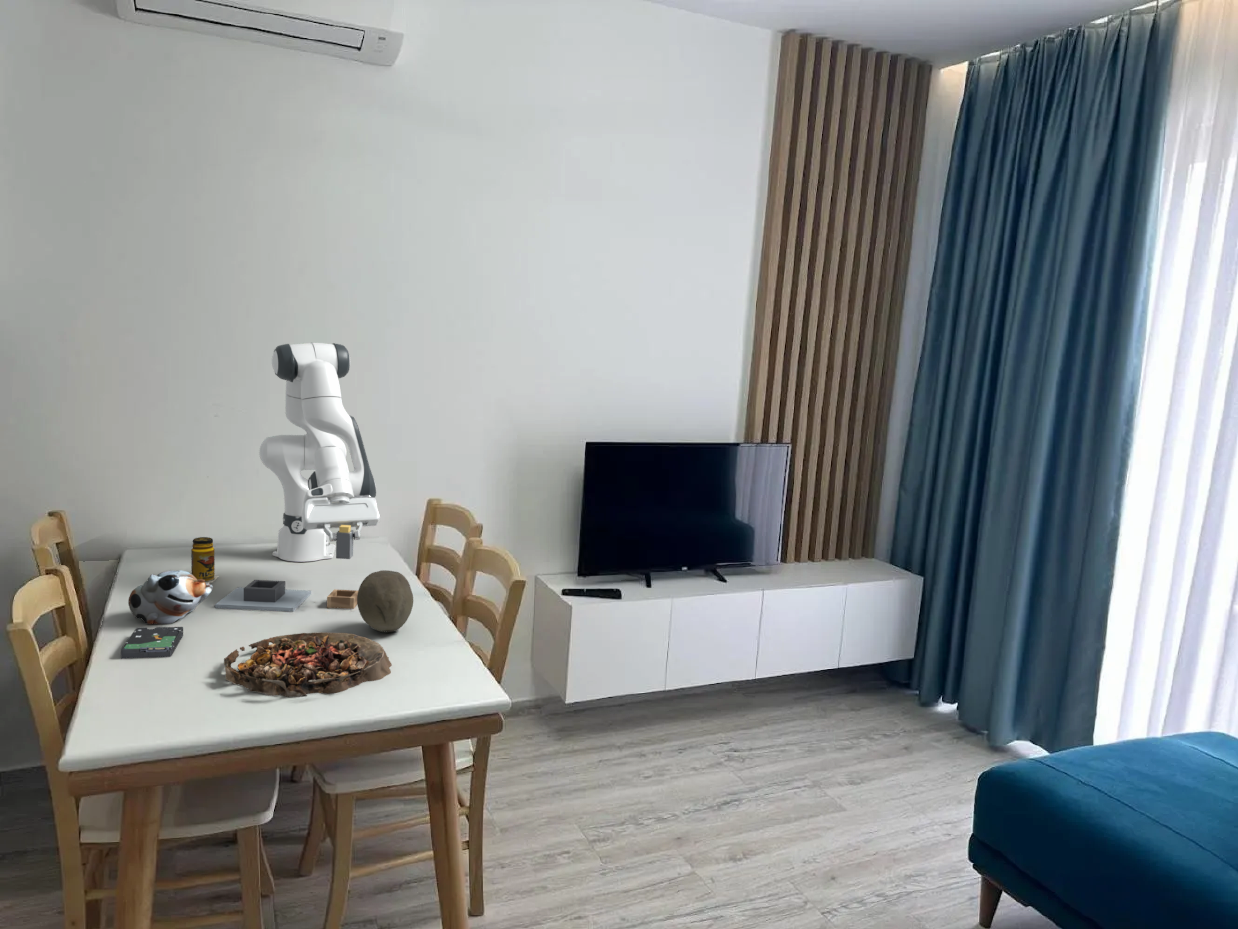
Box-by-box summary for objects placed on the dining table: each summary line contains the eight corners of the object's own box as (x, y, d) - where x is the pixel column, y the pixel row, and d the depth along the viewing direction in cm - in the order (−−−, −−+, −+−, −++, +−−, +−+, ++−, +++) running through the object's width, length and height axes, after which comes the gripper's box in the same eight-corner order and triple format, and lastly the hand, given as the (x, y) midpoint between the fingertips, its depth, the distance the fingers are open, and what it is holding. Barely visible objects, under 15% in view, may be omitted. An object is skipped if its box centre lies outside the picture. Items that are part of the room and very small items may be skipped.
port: (238, 590, 257) (238, 574, 257) (311, 594, 258) (311, 578, 258) (215, 608, 242) (215, 591, 241) (293, 611, 242) (293, 594, 242)
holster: (334, 600, 254) (334, 589, 254) (360, 601, 254) (360, 590, 254) (327, 607, 247) (327, 596, 247) (353, 609, 247) (353, 598, 247)
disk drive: (135, 639, 218) (120, 660, 204) (135, 627, 218) (120, 648, 204) (183, 637, 221) (172, 658, 207) (183, 626, 221) (172, 646, 207)
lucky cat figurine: (193, 604, 244) (215, 557, 239) (197, 638, 233) (220, 591, 229) (124, 593, 234) (146, 544, 229) (125, 629, 224) (147, 579, 219)
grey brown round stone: (425, 629, 235) (427, 571, 232) (382, 643, 223) (383, 583, 221) (386, 617, 242) (387, 561, 240) (343, 630, 231) (343, 571, 228)
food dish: (215, 710, 184) (213, 673, 183) (233, 654, 216) (232, 622, 214) (397, 695, 194) (397, 659, 193) (390, 643, 225) (389, 612, 224)
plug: (339, 555, 251) (340, 524, 249) (353, 555, 251) (353, 524, 250) (335, 558, 247) (336, 527, 246) (349, 559, 247) (350, 527, 246)
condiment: (211, 583, 263) (211, 542, 261) (180, 582, 262) (179, 541, 260) (219, 576, 270) (219, 536, 268) (188, 575, 269) (188, 535, 267)
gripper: (372, 501, 262) (381, 543, 255) (297, 504, 252) (304, 548, 245) (377, 488, 258) (386, 530, 251) (300, 491, 247) (308, 535, 240)
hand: (345, 539), depth 248 cm, fingers closed on plug, 5 cm apart
